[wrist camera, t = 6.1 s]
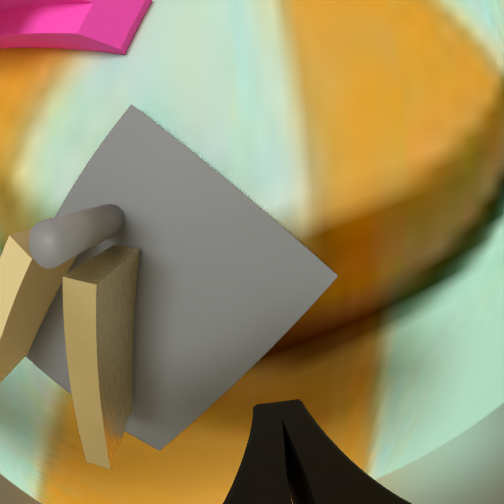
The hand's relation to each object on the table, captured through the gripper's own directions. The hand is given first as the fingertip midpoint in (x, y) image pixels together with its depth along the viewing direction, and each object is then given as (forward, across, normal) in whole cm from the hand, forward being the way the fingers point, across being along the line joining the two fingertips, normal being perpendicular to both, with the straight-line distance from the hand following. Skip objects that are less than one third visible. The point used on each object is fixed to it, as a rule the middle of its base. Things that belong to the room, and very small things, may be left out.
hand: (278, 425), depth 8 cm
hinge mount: (+7, +6, -1) cm, 9 cm away
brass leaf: (+6, +7, 0) cm, 9 cm away
